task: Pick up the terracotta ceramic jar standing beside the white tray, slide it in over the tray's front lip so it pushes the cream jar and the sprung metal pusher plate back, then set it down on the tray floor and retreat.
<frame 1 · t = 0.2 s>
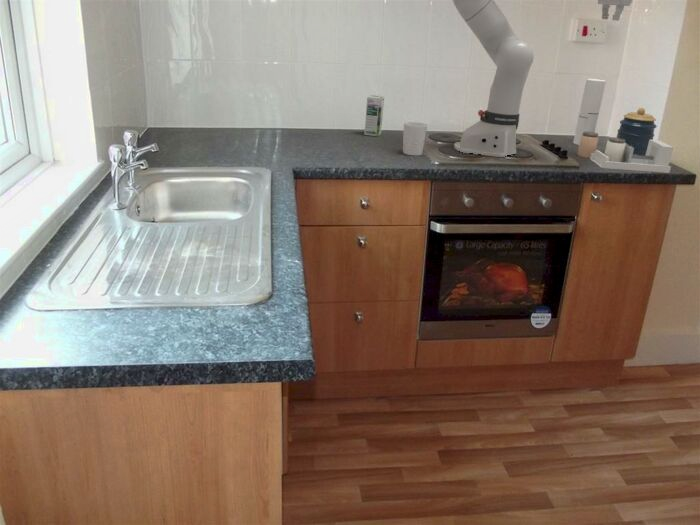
hand: (609, 19, 214), 47 cm above the counter, tool pointing down, fingers open, 8 cm apart
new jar: (585, 157, 234), on the counter
pusher: (638, 155, 222), point 4 cm above the counter, slide at 2.2 cm
cylindrical container: (582, 144, 257), on the counter
canister: (630, 155, 244), on the counter
syrup box: (372, 135, 245), on the counter
white cup: (412, 153, 220), on the counter
lane jar: (611, 164, 223), point 1 cm above the counter, touching white tray
white tray: (629, 167, 224), on the counter
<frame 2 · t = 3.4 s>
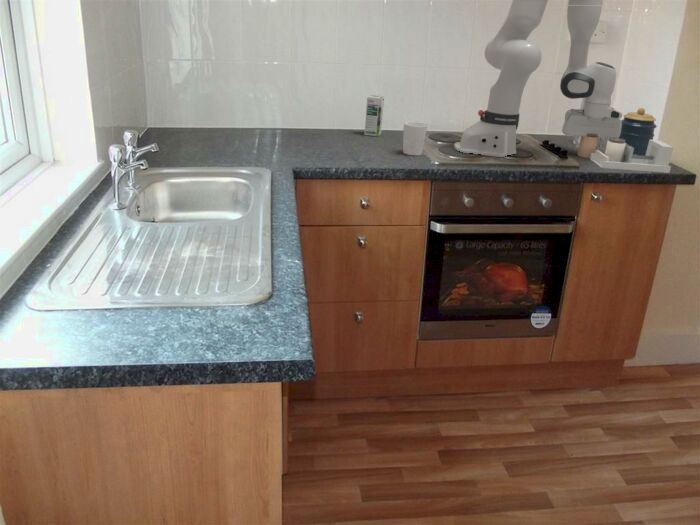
hand: (587, 149, 233), 3 cm above the counter, tool pointing down, fingers closed on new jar, 6 cm apart
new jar: (585, 157, 234), on the counter, touching gripper
everything else where it was.
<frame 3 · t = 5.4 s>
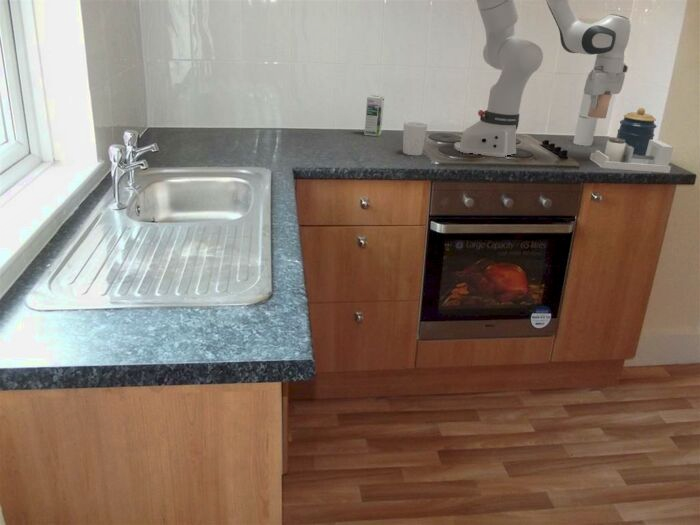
hand: (598, 107, 222), 19 cm above the counter, tool pointing down, fingers closed on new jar, 6 cm apart
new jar: (596, 116, 223), point 16 cm above the counter, touching gripper
everything else where it was.
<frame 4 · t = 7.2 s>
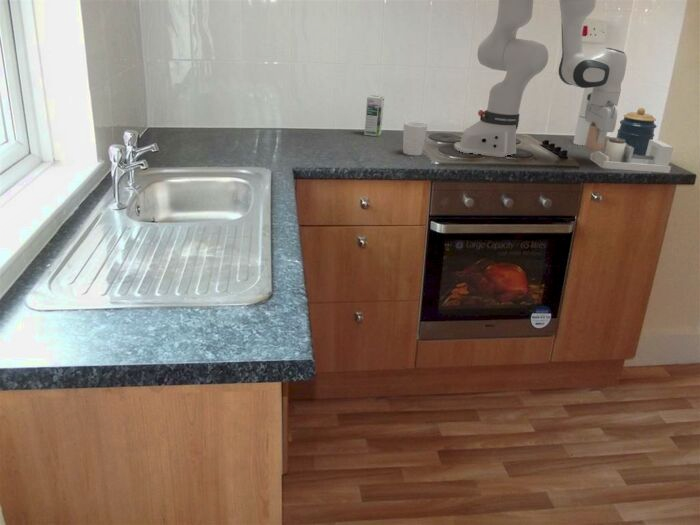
hand: (595, 140, 220), 9 cm above the counter, tool pointing down, fingers closed on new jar, 6 cm apart
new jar: (593, 149, 221), point 6 cm above the counter, touching gripper
everything else where it was.
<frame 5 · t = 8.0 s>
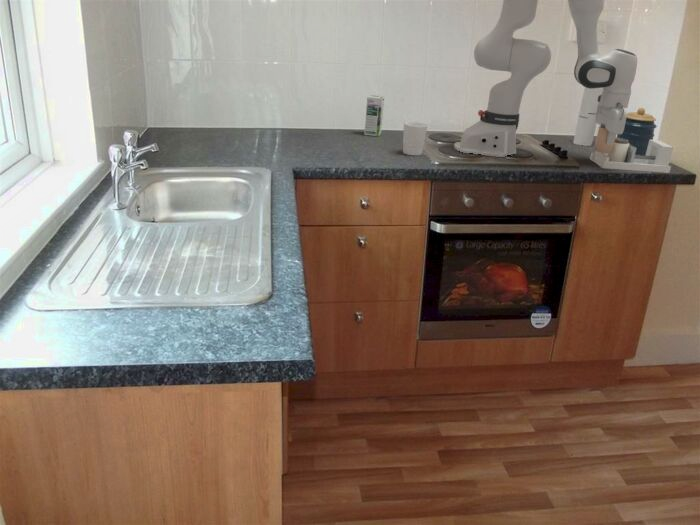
hand: (605, 141, 219), 9 cm above the counter, tool pointing down, fingers closed on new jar, 6 cm apart
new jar: (602, 151, 220), point 5 cm above the counter, touching gripper
pusher: (640, 155, 222), point 4 cm above the counter, slide at 3.0 cm
lane jar: (614, 164, 223), point 1 cm above the counter, touching white tray
everything else where it was.
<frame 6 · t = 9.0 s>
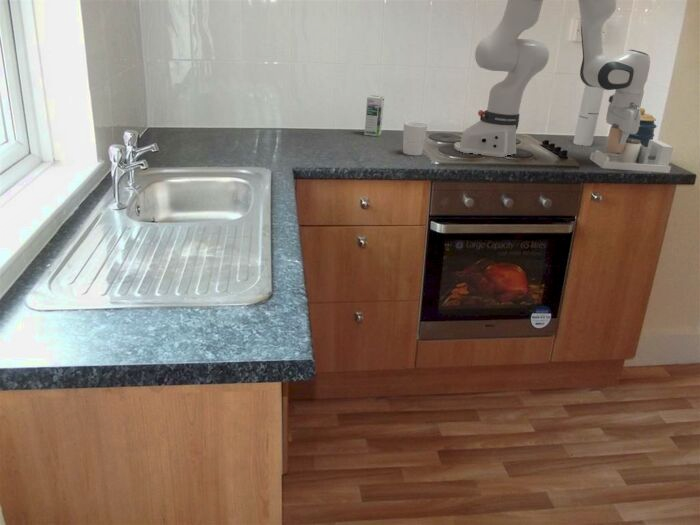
hand: (617, 141, 220), 9 cm above the counter, tool pointing down, fingers closed on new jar, 6 cm apart
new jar: (614, 151, 221), point 5 cm above the counter, touching gripper, lane jar
pusher: (653, 156, 222), point 4 cm above the counter, slide at 7.6 cm, touching lane jar
lane jar: (626, 164, 224), point 1 cm above the counter, touching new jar, pusher
everything else where it was.
when the fingers open (4 cm above the counter, at t = 10.8 s): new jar stays where it is, point 1 cm above the counter.
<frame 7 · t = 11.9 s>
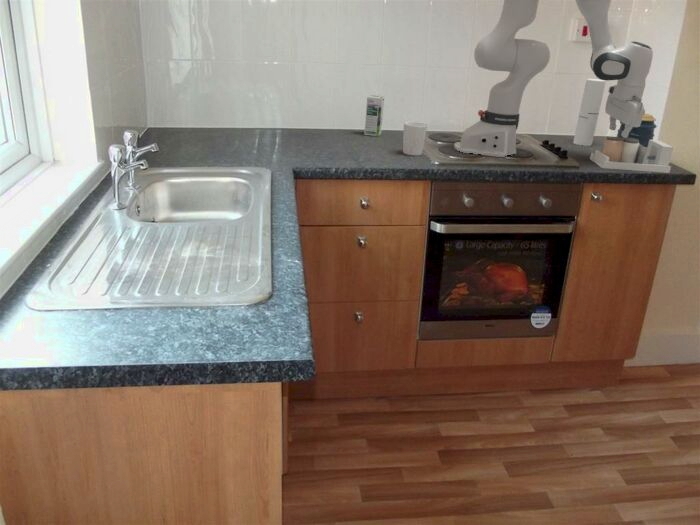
hand: (617, 133, 222), 11 cm above the counter, tool pointing down, fingers open, 8 cm apart
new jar: (610, 163, 224), point 1 cm above the counter, tilted 7°
lane jar: (624, 164, 225), point 1 cm above the counter, touching white tray, pusher
everything else where it was.
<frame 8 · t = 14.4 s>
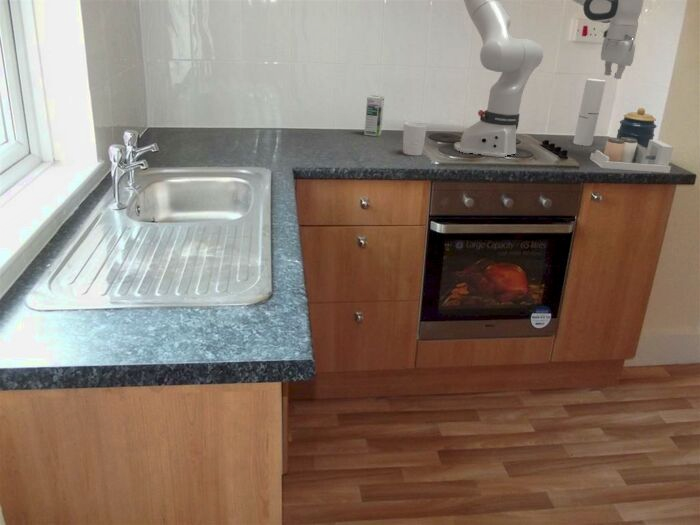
hand: (612, 76, 220), 29 cm above the counter, tool pointing down, fingers open, 8 cm apart
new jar: (610, 164, 223), point 1 cm above the counter, touching white tray, lane jar
pusher: (651, 156, 222), point 4 cm above the counter, slide at 6.9 cm, touching lane jar
lane jar: (622, 163, 226), point 1 cm above the counter, touching white tray, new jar, pusher
everything else where it was.
at the end: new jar inside the target area (1.1 cm from its centre), point 0.6 cm above the counter; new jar tilted 0°; pusher slide at 6.9 cm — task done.
